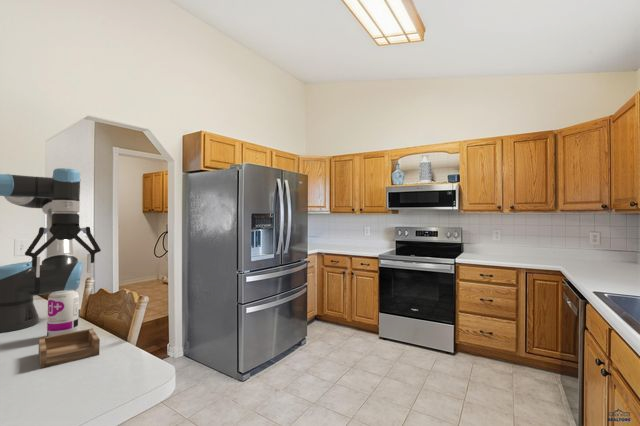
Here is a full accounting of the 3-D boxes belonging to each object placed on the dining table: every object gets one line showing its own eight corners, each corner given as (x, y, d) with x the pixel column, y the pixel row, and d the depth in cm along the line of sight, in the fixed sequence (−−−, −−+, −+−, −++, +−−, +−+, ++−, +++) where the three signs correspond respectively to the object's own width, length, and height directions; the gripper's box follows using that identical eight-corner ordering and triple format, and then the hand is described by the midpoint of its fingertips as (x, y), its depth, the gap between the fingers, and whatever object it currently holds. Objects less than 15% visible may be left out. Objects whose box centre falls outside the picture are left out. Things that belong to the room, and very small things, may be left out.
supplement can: (60, 341, 102) (61, 295, 103) (40, 339, 104) (41, 294, 104) (83, 333, 110) (84, 290, 111) (64, 331, 112) (65, 289, 112)
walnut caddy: (38, 353, 93) (39, 338, 93) (92, 342, 102) (92, 328, 102) (40, 368, 83) (40, 351, 84) (99, 354, 92) (99, 339, 92)
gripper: (15, 211, 98) (13, 280, 97) (110, 213, 115) (109, 271, 114) (16, 212, 103) (14, 277, 102) (106, 214, 120) (105, 270, 119)
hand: (64, 274), depth 108 cm, fingers open, 13 cm apart
